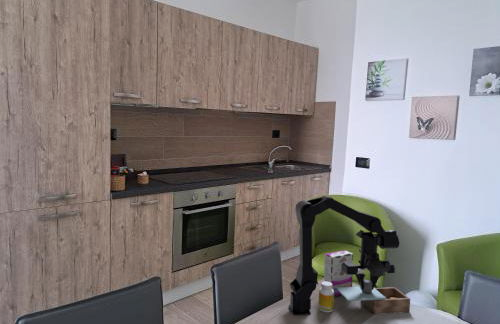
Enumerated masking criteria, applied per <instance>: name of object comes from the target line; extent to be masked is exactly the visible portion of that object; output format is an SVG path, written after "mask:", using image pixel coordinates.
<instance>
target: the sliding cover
mask: <svg viewBox="0 0 500 324" xmlns="http://www.w3.org/2000/svg"><path fill="white" fill-rule="evenodd" d="M375 288H376V287H374V289H373V290H372V281H370V279H369V280H368V279H364V288H363V291H362V290H361V288H360V286H352V287H337V290H338V291H339V292H340V293H341V294H342V295H341V296H343V298H345V300H346V301H347V302H358V301H360V302H361V301H363V300H382V299H386V297H384V296H383V295H382V294H381V293H380V292H378V291H377V290H376V289H375Z"/></svg>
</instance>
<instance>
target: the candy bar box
mask: <svg viewBox="0 0 500 324" xmlns="http://www.w3.org/2000/svg"><path fill="white" fill-rule="evenodd" d="M343 262H353V263H354V253H353V252H351V251H348V250H341V251H333V252H329V253H324V267H323V268H324V269H323V270H324V273H323V274H324V275H323V281H328V282H331V283H332V289H333V290H334V298H335V297H339V296H343V295H342V294H341V293H340V292H339V291H338V290H337V287H353V275H348V274H346V273H345V272H344V271H343V270H342V269H341V265H342V263H343Z"/></svg>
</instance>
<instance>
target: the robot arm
mask: <svg viewBox="0 0 500 324" xmlns="http://www.w3.org/2000/svg"><path fill="white" fill-rule="evenodd" d="M294 208H295V216H296V219H297V222H298V223H297V224H298V226H299V265H298V268H297V269H296V275H295V278H294V279H293V280H292V281H291V282H290V283H289V287H290V289H291V291H290V299H289V300H290V303H289V305H288V308H289V310H290V312H291V313H292V315H294V316H299V315H300V316H301V315H310V314H311V313H312V312H311V308H312V307H311V306H312V305H311V304H312V299H311V297H312V294H313V292H314V291H316V289H317V285H319V282H318V277H319V273H318V271H317V270H316V269H315V267H313V226H314V224H315V222H316V216H317V215H318V216H319V215H320V214H322V213H324V212H325V211H327V210H329V209H330V210H332V211H334V212H336V213H337V214H340V215H341V216H342V215H343V216H344V217H347V218H349V219H351V221H352V220H353V221H354V223H356V224H357V225H358V226H360V227H361V228H363V229H365V230H366V231H364V230H362V229H360V230H359V231H357V232H356V233H355V236H356V237H359V239H360V241H361V242H360V248H359V249H358V252H359V253H360V255H359V256H360V259H358V263H359V264H355V263H354V261H353V262H343V263H342V265H341V269H342V270H343V271H344V272H345V273H346V274H348V275H352V276H353V275H355V277H356V280H357V282H358V285H359V286H360V288H361V290H362V291H363V288H364V280H365V277H366V274H365V273H364V271H369V280H370V281H372V290H373V289H374V288H376V287H375V286H376V284H377V282H378V280H379V279H380V278H381V277H383V276H385V274H386V273H387V274H395V273H396V267H395V265H394V264H393V263H391V262H390V261H389V260H380V254H379V253H378V248H380V249H381V250H383V249H384V250H387V249H388V250H389V249H391V250H392V249H395V250H396V249H398V248H399V247H400V240H399V239H400V238H399V236H398V234H397V231H396V230H395V229H388V230H385V229H384V228H383V226H382V221H381V219H380V218H379V217H377V216H374V215H373V214H371V213H368V212H363V211H360V210H356V209H354V208H351V207H350V206H348V205H346V204H345V203H342V202H339V201H338V200H336V199H334V198H333V197H331V196H329V195H323V196H321V197H320V196H319V197H316V198H311V199H308V200H299V201H298V202H297V203H296V204H295V207H294ZM359 286H358V287H359Z"/></svg>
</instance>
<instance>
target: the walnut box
mask: <svg viewBox="0 0 500 324" xmlns="http://www.w3.org/2000/svg"><path fill="white" fill-rule="evenodd" d="M374 288H375V289H376V290H377V291H378V292H380V293H381V294H382V295H383V296H384V297H386V299H382V300H363V301H360V302H361V303H362V304H363V305H364V306H365V308H367V309H368V310H369V311H370V312H371V314H373V315H380V314H379V313H386V314H399V313H398V312H403V313H410V309H411V297H409V296H407V295H406V294H404V293H403V292H402V291H400V289H398V288H397V287H395V286H391V287H390V286H388V287H386V286H385V287H374ZM394 312H395V313H394ZM396 312H397V313H396Z"/></svg>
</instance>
